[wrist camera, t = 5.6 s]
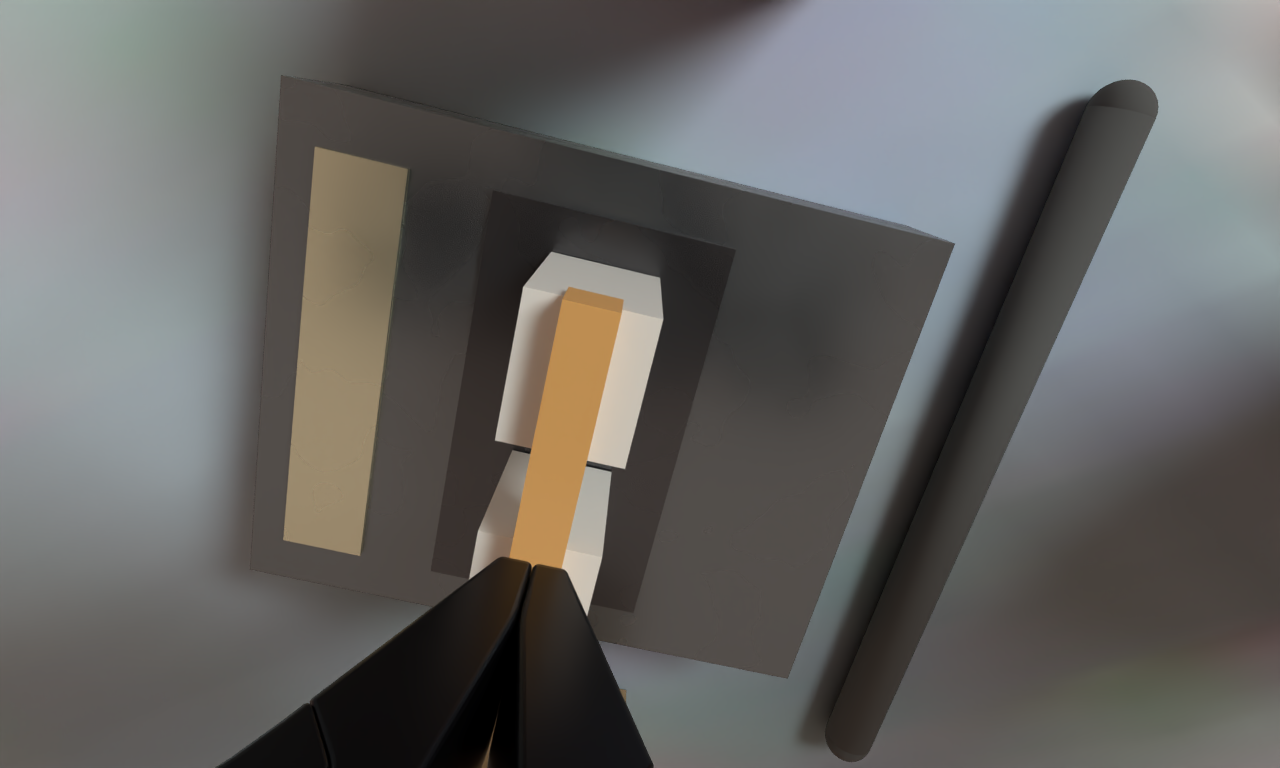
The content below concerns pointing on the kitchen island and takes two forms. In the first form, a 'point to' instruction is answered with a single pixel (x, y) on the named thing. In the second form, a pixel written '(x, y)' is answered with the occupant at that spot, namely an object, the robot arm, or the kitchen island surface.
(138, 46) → the kitchen island surface
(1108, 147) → the dark gray rod
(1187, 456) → the kitchen island surface
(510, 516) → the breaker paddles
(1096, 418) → the kitchen island surface
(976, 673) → the kitchen island surface
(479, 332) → the breaker panel
